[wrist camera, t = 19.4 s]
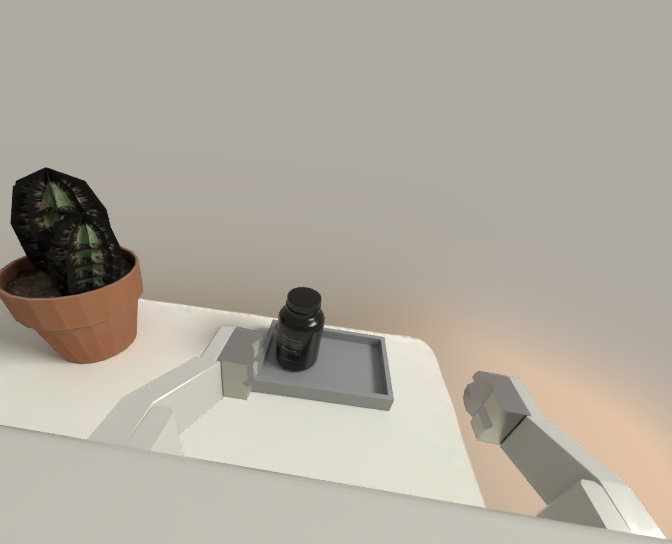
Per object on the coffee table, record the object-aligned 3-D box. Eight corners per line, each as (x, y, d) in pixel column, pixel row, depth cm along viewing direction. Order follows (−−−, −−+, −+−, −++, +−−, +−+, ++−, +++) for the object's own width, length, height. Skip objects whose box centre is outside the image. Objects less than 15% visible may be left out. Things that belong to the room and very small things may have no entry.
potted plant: (7, 376, 35) (-131, 175, 22) (82, 308, 47) (21, 150, 34) (124, 381, 37) (60, 199, 24) (169, 314, 49) (142, 167, 36)
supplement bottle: (326, 360, 45) (339, 302, 38) (290, 381, 40) (298, 319, 34) (301, 334, 49) (309, 278, 42) (267, 350, 44) (270, 290, 38)
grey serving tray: (250, 390, 39) (250, 379, 38) (272, 330, 50) (272, 319, 48) (389, 410, 40) (393, 400, 39) (380, 347, 50) (384, 337, 49)
